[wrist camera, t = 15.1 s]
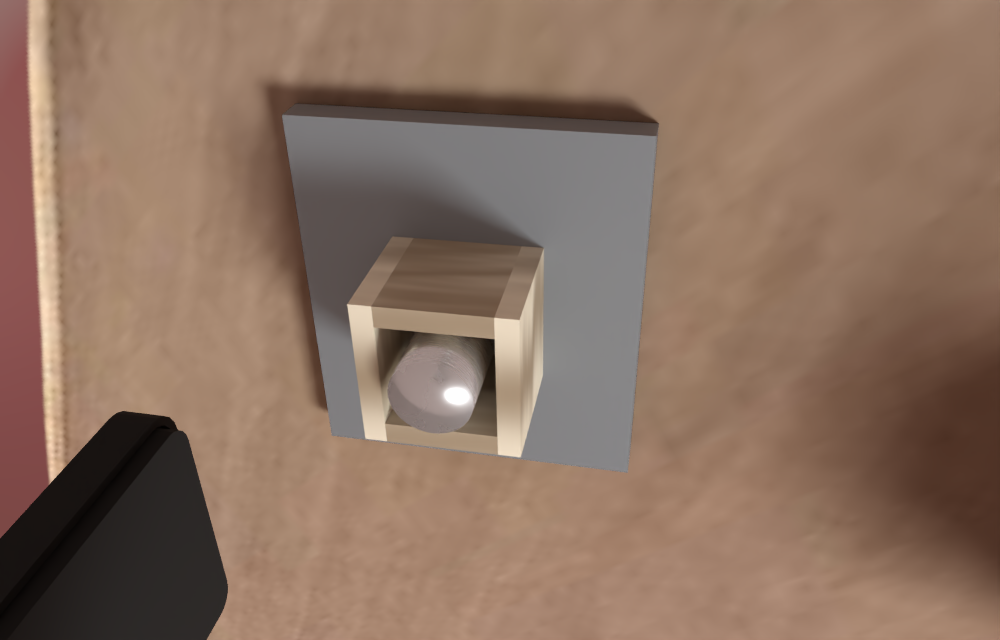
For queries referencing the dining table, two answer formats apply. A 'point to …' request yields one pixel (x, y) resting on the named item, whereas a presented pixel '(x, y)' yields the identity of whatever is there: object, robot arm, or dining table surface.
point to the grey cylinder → (439, 380)
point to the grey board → (492, 220)
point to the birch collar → (453, 311)
